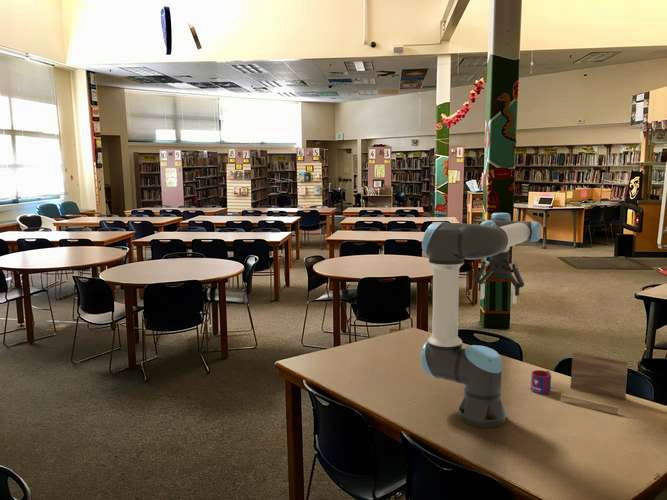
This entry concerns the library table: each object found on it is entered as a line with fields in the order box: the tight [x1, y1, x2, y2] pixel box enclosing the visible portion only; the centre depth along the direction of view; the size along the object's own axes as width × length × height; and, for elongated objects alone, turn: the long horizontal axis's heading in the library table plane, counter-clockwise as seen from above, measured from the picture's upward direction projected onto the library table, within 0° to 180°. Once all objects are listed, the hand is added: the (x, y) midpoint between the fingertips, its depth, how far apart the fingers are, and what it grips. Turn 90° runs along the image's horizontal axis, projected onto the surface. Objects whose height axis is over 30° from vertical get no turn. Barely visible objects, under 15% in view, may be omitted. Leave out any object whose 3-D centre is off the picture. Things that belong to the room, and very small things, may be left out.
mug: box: [530, 369, 552, 395], centre depth 195 cm, size 7×10×7 cm
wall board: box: [570, 351, 629, 401], centre depth 191 cm, size 3×18×14 cm, turn 53°
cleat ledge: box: [560, 393, 619, 416], centre depth 180 cm, size 1×18×2 cm, turn 53°
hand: (498, 301), depth 217 cm, fingers open, 13 cm apart
